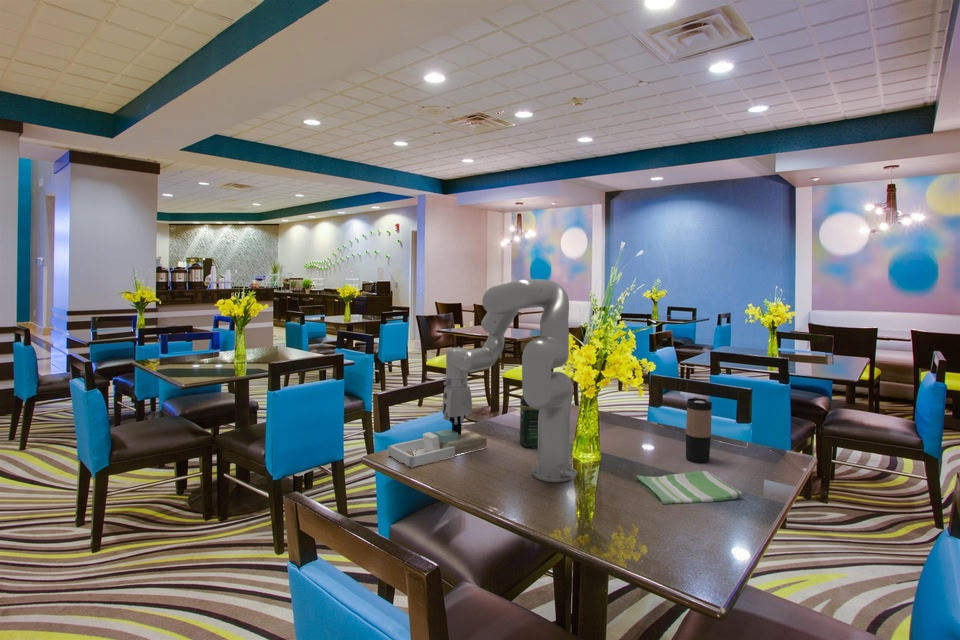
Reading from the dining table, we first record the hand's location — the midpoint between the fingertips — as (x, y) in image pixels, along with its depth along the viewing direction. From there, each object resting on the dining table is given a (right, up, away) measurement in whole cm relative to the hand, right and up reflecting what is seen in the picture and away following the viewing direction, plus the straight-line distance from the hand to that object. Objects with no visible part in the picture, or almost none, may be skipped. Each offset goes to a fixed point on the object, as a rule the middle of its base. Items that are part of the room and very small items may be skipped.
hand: (456, 434), depth 184 cm
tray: (-11, -6, -9) cm, 16 cm away
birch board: (+1, -5, +1) cm, 5 cm away
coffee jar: (+27, -5, +5) cm, 28 cm away
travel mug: (+80, -6, -11) cm, 81 cm away
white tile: (-7, -2, -5) cm, 9 cm away
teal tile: (-4, -1, -3) cm, 5 cm away
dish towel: (+67, -9, -36) cm, 76 cm away
